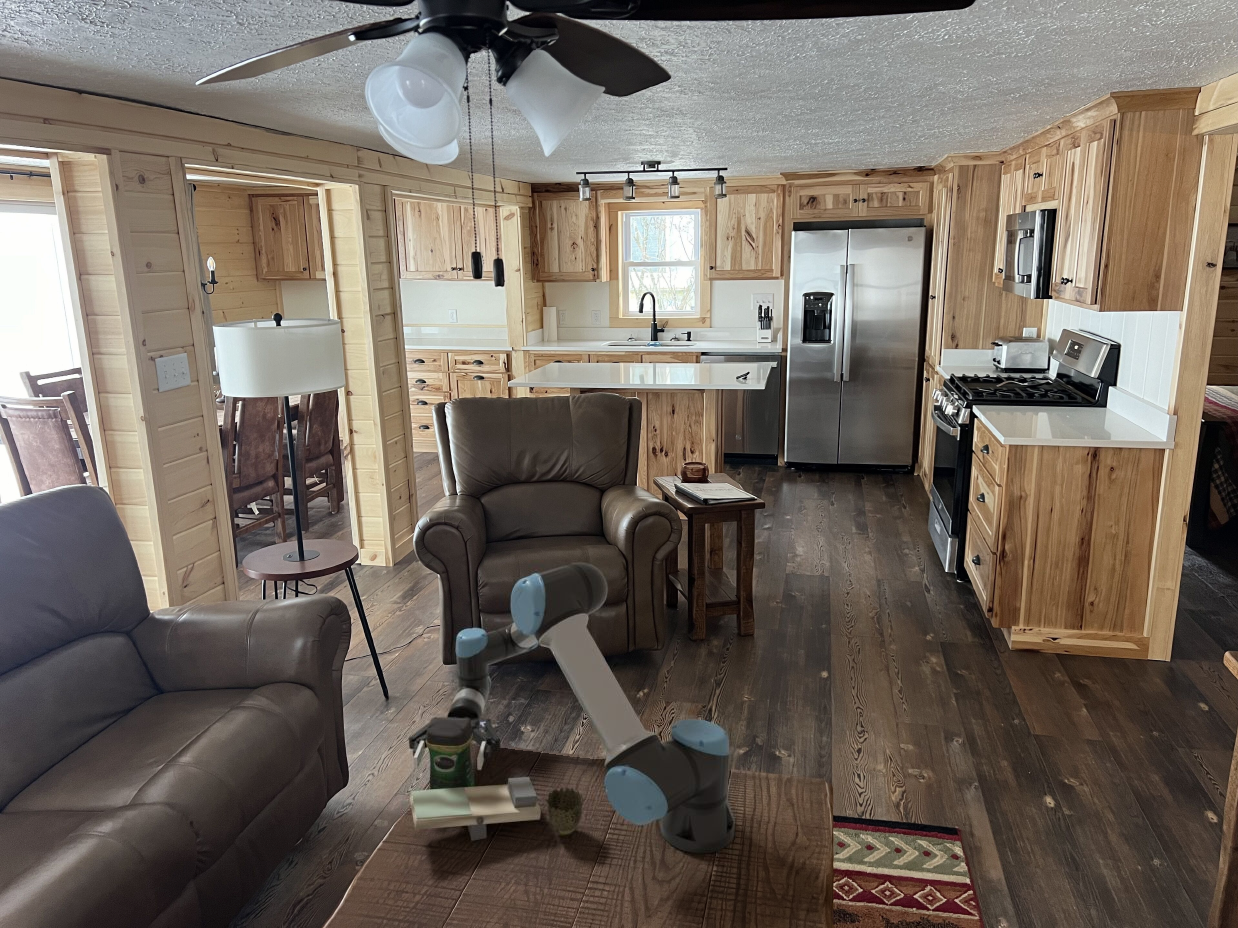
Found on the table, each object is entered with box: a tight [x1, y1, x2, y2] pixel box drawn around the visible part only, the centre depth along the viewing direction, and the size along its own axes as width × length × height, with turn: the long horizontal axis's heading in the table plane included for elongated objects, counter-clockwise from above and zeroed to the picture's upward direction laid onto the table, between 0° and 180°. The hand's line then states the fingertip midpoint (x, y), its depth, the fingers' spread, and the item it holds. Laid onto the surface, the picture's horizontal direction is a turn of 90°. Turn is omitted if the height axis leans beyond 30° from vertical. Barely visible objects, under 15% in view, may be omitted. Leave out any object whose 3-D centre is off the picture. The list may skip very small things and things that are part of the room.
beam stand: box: [466, 824, 487, 842], centre depth 176 cm, size 7×3×4 cm, turn 19°
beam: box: [409, 776, 542, 830], centre depth 175 cm, size 11×25×4 cm, turn 109°
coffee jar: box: [426, 716, 476, 790], centre depth 185 cm, size 10×8×19 cm
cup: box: [546, 787, 584, 837], centre depth 175 cm, size 8×7×8 cm
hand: (447, 763), depth 181 cm, fingers open, 13 cm apart
